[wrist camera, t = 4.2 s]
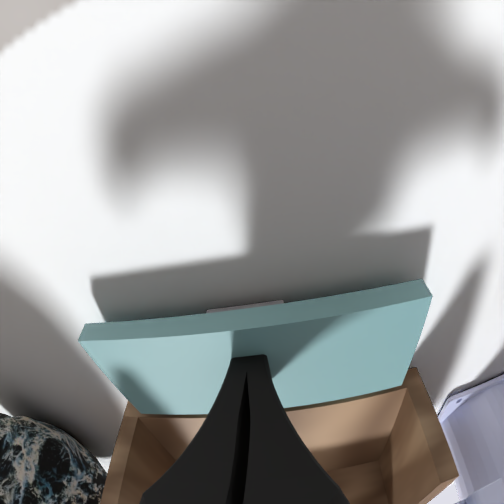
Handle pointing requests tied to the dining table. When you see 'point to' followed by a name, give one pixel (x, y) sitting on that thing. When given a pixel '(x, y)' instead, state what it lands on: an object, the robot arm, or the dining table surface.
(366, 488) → the crate
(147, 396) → the lid
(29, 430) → the decorative stone
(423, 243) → the dining table surface
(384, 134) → the dining table surface
